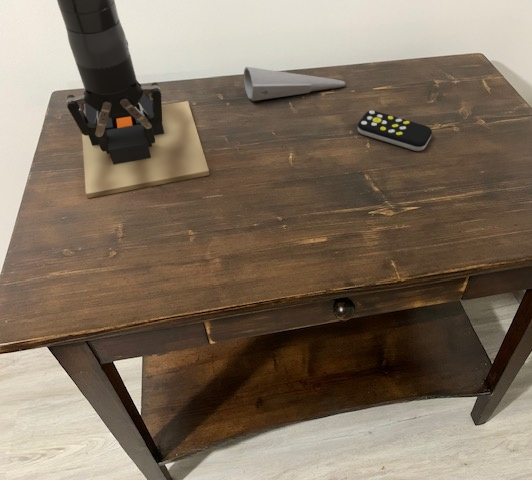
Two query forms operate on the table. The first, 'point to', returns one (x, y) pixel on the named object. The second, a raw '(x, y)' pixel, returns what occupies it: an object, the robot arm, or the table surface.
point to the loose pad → (127, 142)
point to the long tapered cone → (283, 83)
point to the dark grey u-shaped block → (112, 122)
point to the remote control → (394, 130)
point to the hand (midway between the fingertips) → (129, 147)
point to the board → (152, 169)
